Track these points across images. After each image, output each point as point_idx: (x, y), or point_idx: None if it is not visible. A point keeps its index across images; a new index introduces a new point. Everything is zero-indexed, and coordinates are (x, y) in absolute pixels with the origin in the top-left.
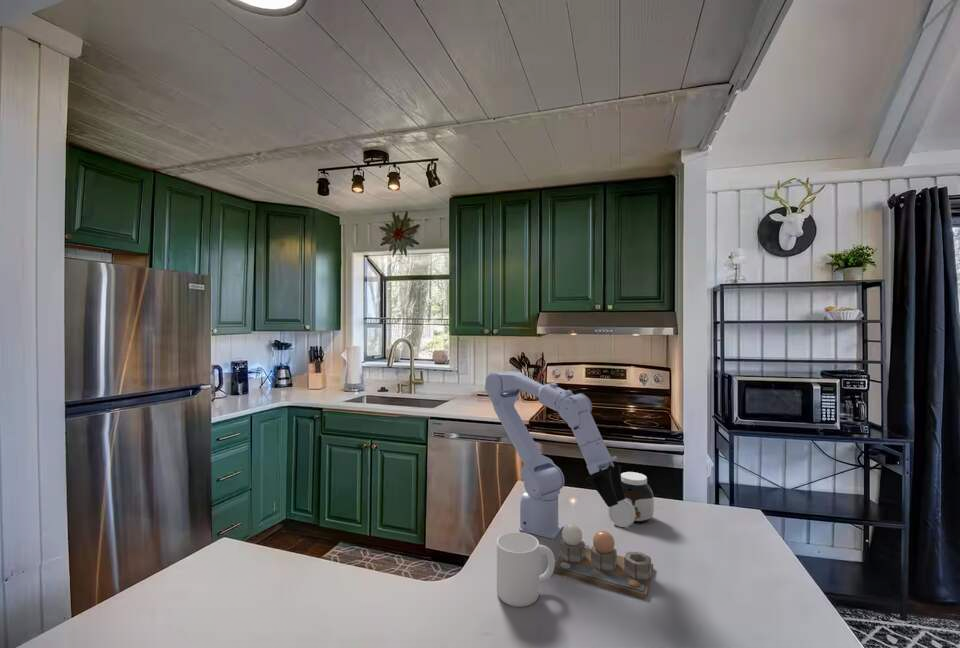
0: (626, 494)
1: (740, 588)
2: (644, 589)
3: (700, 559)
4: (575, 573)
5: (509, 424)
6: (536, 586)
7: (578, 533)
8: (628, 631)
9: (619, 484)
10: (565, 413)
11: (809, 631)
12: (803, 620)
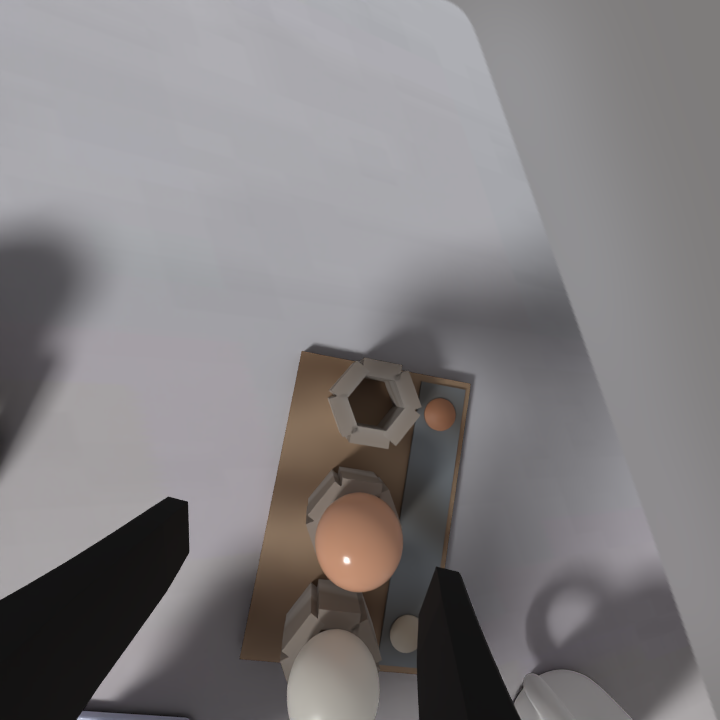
0: None
1: (336, 139)
2: (451, 387)
3: (198, 201)
4: None
5: None
6: (606, 703)
7: (361, 669)
8: (591, 429)
9: (70, 616)
10: None
11: (463, 60)
12: (428, 53)
